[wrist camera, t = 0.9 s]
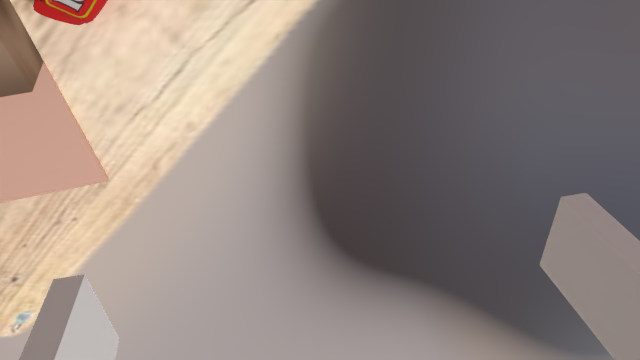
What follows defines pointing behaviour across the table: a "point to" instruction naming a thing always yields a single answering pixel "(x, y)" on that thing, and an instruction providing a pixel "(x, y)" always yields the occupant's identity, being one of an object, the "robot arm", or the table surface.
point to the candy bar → (70, 10)
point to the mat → (43, 144)
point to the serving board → (16, 54)
